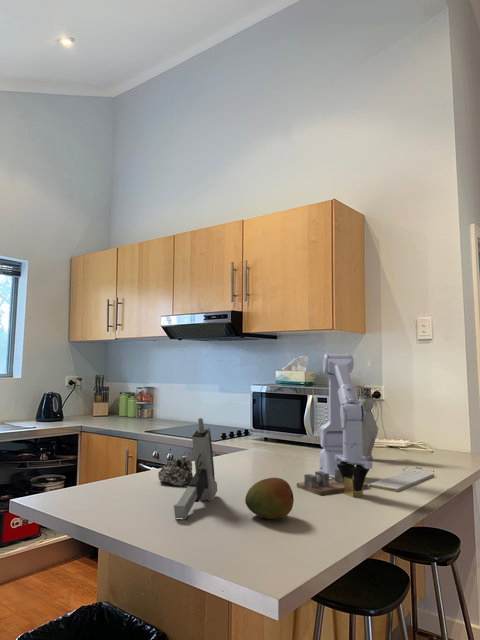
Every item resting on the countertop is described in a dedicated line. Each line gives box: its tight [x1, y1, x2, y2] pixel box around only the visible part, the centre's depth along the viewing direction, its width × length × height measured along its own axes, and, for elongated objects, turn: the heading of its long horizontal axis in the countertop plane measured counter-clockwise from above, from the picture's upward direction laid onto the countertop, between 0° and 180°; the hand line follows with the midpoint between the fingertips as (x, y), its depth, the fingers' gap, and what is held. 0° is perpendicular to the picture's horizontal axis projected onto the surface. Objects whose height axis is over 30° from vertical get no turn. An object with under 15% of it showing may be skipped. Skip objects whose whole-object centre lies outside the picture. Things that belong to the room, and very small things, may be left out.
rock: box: [158, 456, 194, 487], centre depth 160 cm, size 13×10×10 cm
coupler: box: [343, 476, 364, 498], centre depth 146 cm, size 4×4×5 cm
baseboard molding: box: [368, 466, 435, 493], centre depth 164 cm, size 31×3×12 cm
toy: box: [358, 387, 379, 461], centre depth 205 cm, size 18×9×30 cm, turn 136°
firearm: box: [173, 417, 218, 519], centre depth 131 cm, size 4×24×25 cm
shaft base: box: [296, 469, 369, 496], centre depth 154 cm, size 12×19×5 cm, turn 119°
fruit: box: [245, 477, 294, 520], centre depth 122 cm, size 12×12×10 cm
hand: (353, 489), depth 145 cm, fingers closed on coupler, 4 cm apart
